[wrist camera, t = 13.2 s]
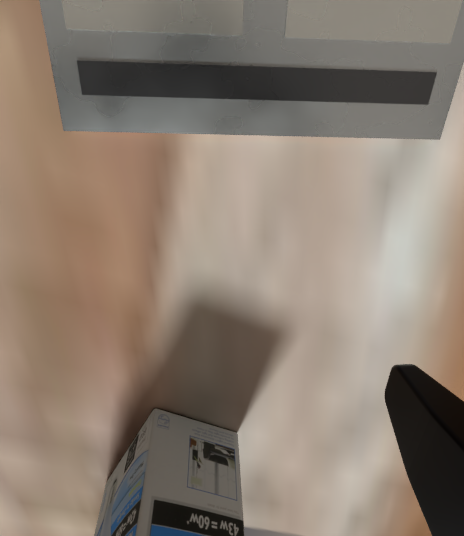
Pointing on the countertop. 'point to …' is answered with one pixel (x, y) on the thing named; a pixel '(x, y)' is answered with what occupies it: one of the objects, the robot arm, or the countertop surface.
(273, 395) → the countertop surface
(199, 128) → the label plate
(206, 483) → the light bulb box
